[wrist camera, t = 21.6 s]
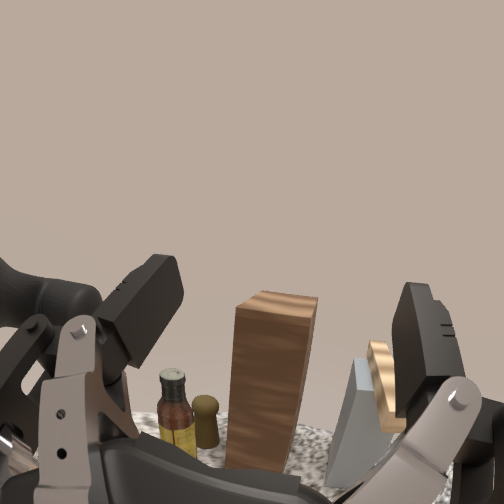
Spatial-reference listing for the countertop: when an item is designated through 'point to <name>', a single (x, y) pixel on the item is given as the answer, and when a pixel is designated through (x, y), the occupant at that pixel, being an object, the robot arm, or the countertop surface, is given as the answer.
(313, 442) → the countertop surface
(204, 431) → the cork
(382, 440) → the grey rectangular block
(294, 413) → the tall walnut stand
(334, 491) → the countertop surface
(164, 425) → the sauce bottle
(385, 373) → the beech bar
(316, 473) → the countertop surface
